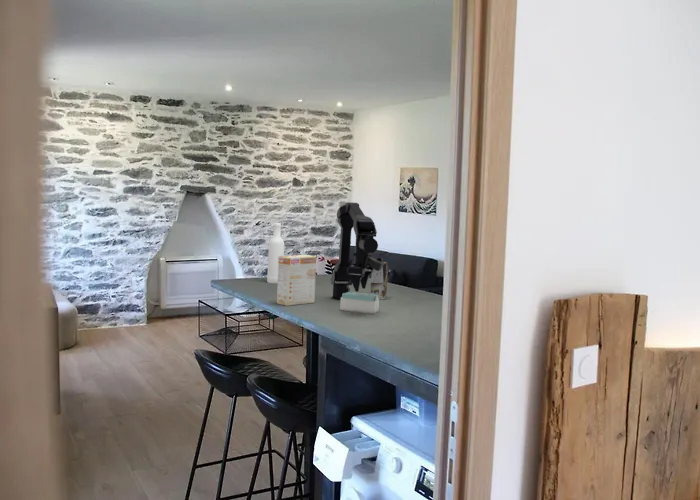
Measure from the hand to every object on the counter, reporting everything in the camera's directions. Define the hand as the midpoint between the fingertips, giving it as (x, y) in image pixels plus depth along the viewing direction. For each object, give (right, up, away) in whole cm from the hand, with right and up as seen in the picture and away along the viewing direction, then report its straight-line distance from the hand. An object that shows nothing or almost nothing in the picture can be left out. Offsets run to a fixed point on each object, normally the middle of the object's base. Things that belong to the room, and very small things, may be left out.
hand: (360, 290), depth 242 cm
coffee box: (+9, -6, +35) cm, 37 cm away
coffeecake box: (-26, -6, +11) cm, 29 cm away
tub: (0, -8, +1) cm, 8 cm away
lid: (0, -3, 0) cm, 3 cm away
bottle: (-42, -1, +67) cm, 79 cm away
